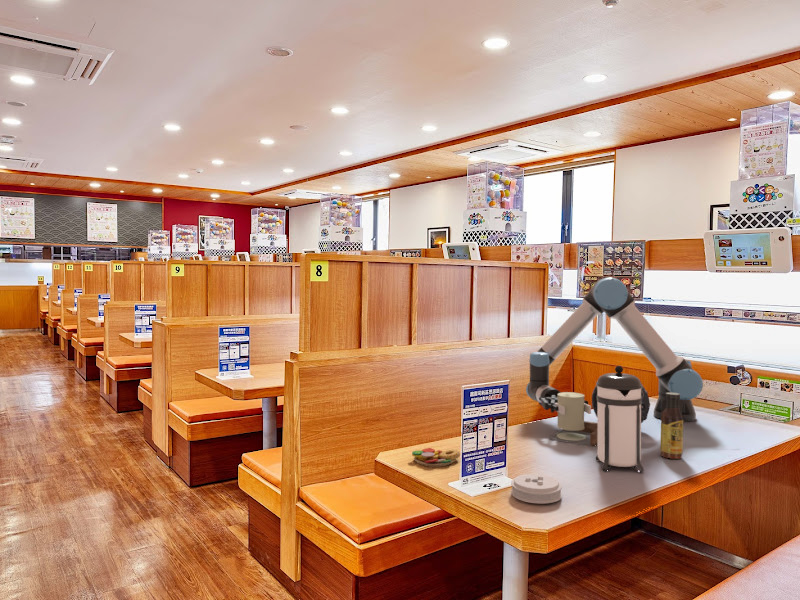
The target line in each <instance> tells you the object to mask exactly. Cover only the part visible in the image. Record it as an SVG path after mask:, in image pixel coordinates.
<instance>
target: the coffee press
mask: <svg viewBox="0 0 800 600" xmlns="http://www.w3.org/2000/svg"><path fill="white" fill-rule="evenodd" d="M614 370H615V372H611V373H610V372H608V373H604V374H602V375H600V376H599V377H598V379H597V381H596V382H595V386H596V385H597V416H596V419H597V423H598V444H597V455H596V456H595V460H596V461H597V460H599V461H598V462H602V463H603V464H602V468H601V469H602V471H604V472H607V470H608V472H609V471H610V469H611V467H620V468H621V467H623V468H628V467H631V468H633V469H634V470H636V472H637V471H638V470H640V473H643V472H644V467H643V466H642V463H641V461H642V459H641V458H642V423H641V404H642V397H641V389H642V387H644V386H643V383H642V382H641V380H640V378H638V376H636V375H633V374H629V373H623V371H624V368H623V366H622V365H617V366H615V368H614ZM642 471H643V472H642Z"/></svg>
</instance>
